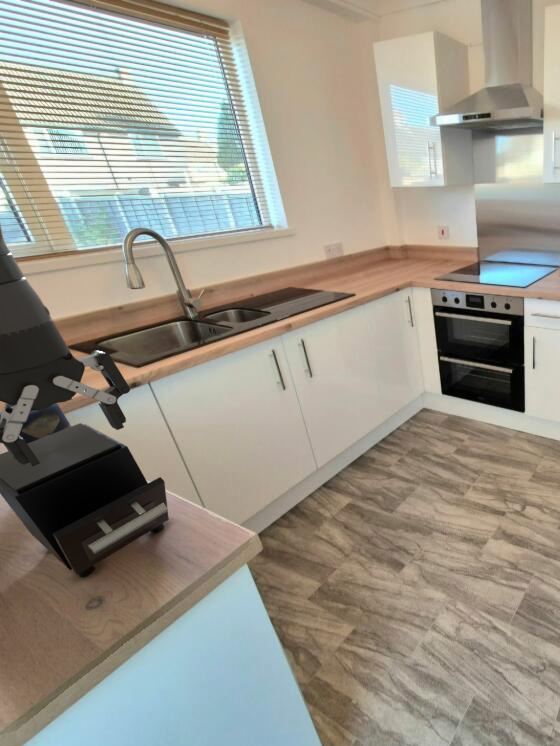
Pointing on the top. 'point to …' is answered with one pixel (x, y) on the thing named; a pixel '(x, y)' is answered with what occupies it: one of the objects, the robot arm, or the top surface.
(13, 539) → the top surface
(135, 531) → the oven door
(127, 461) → the oven
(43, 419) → the canister
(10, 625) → the top surface
